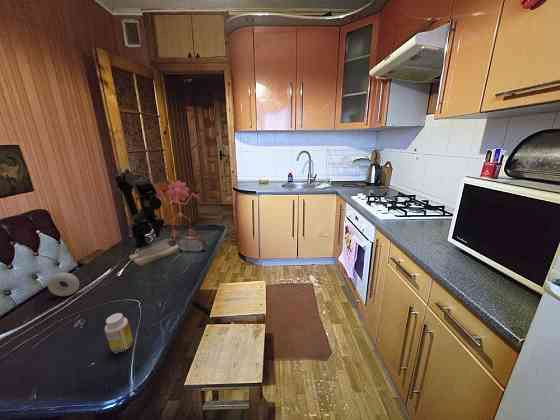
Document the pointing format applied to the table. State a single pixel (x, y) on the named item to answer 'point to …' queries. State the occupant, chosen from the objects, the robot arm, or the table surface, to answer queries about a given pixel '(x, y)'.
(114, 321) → the supplement bottle
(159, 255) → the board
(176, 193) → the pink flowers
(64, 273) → the donut
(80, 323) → the blueberries
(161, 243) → the tongs
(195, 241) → the tin
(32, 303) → the table surface
